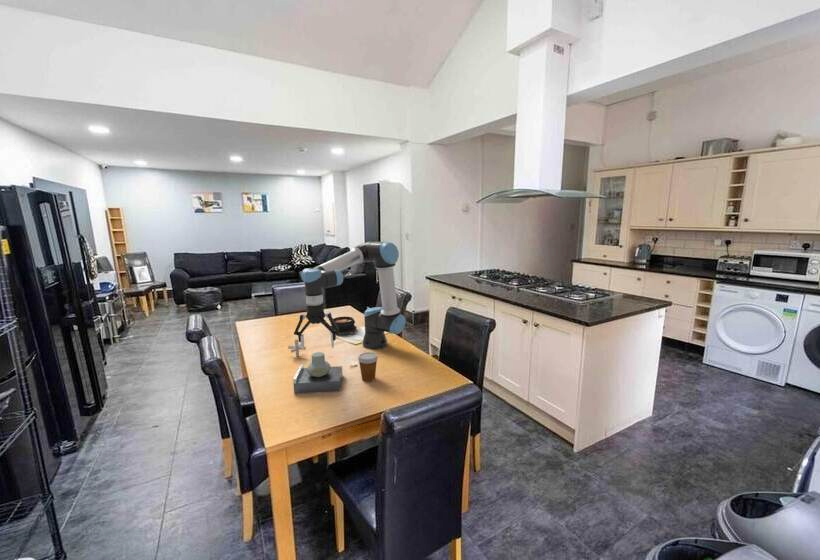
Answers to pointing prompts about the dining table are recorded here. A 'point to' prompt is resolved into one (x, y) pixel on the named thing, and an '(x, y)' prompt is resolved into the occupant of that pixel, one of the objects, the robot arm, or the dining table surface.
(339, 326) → the casserole
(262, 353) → the dining table surface
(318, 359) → the air freshener
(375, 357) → the disposable coffee cup
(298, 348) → the pipe connector
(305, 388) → the block
